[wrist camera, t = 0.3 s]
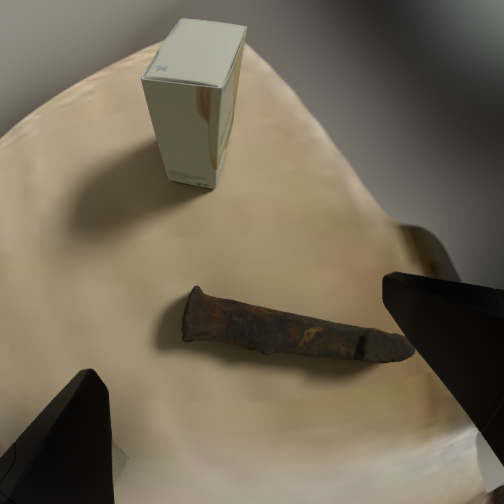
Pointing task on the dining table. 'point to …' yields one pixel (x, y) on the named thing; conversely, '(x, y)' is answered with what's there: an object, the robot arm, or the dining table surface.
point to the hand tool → (286, 332)
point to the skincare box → (195, 98)
